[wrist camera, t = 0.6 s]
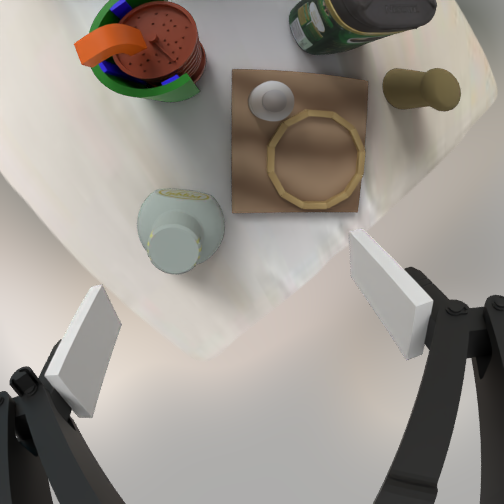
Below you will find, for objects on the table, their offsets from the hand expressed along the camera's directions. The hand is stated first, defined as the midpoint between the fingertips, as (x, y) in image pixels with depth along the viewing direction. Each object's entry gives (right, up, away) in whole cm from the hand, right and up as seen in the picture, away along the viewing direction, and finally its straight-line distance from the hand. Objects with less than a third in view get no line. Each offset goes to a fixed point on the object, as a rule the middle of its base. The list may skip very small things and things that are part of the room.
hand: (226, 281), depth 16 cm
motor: (-9, +24, +17) cm, 30 cm away
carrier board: (+7, +15, +22) cm, 28 cm away
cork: (+22, +24, +20) cm, 38 cm away
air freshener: (-8, +6, +25) cm, 27 cm away
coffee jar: (+10, +30, +16) cm, 35 cm away
